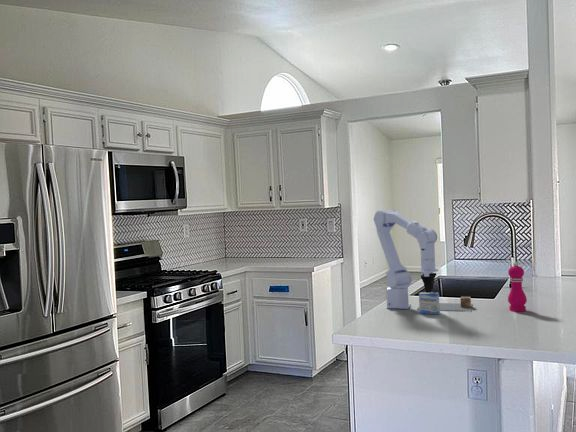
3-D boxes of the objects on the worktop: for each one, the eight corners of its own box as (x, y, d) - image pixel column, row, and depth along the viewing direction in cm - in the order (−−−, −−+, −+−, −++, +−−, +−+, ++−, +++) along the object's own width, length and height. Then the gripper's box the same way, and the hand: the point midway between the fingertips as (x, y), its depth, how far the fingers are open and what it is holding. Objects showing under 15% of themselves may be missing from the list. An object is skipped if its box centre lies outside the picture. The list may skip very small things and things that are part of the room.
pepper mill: (527, 309, 221) (525, 261, 221) (527, 312, 214) (525, 263, 214) (508, 308, 224) (506, 261, 224) (507, 311, 218) (505, 263, 217)
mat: (417, 310, 229) (417, 309, 229) (421, 303, 243) (421, 302, 243) (471, 311, 221) (471, 310, 221) (472, 304, 235) (472, 303, 235)
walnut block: (460, 307, 228) (460, 298, 228) (461, 305, 232) (460, 296, 232) (470, 307, 227) (470, 298, 227) (470, 305, 231) (470, 296, 231)
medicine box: (419, 314, 221) (418, 293, 221) (420, 312, 225) (419, 291, 225) (438, 314, 218) (438, 294, 218) (439, 312, 222) (439, 292, 222)
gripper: (436, 261, 213) (437, 294, 213) (439, 257, 226) (440, 288, 227) (418, 261, 215) (419, 294, 216) (422, 257, 229) (423, 288, 229)
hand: (429, 291), depth 221 cm, fingers open, 4 cm apart
